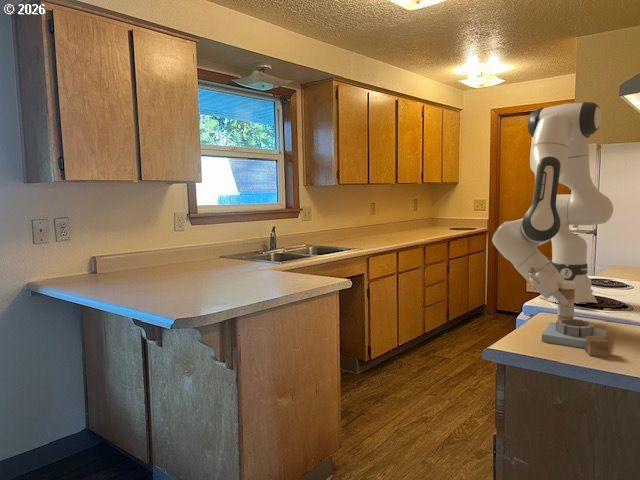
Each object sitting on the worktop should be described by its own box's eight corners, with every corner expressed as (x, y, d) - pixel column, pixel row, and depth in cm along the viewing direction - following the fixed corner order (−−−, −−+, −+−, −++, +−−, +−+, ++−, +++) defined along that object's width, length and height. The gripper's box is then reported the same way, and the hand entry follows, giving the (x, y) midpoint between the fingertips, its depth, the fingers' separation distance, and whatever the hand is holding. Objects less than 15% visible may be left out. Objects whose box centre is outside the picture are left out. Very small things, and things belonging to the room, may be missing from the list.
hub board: (550, 328, 137) (551, 313, 137) (606, 336, 129) (607, 320, 128) (541, 341, 126) (542, 325, 125) (602, 351, 118) (602, 333, 117)
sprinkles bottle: (559, 322, 143) (561, 279, 142) (575, 325, 140) (577, 281, 139) (554, 325, 140) (556, 281, 139) (571, 328, 137) (573, 283, 136)
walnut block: (585, 351, 118) (585, 335, 118) (602, 352, 117) (603, 336, 117) (589, 356, 114) (590, 340, 114) (607, 357, 113) (608, 341, 113)
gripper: (535, 264, 134) (572, 302, 129) (548, 256, 150) (581, 289, 146) (518, 278, 137) (554, 315, 132) (532, 268, 153) (565, 301, 149)
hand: (568, 301), depth 139 cm, fingers closed on sprinkles bottle, 4 cm apart
